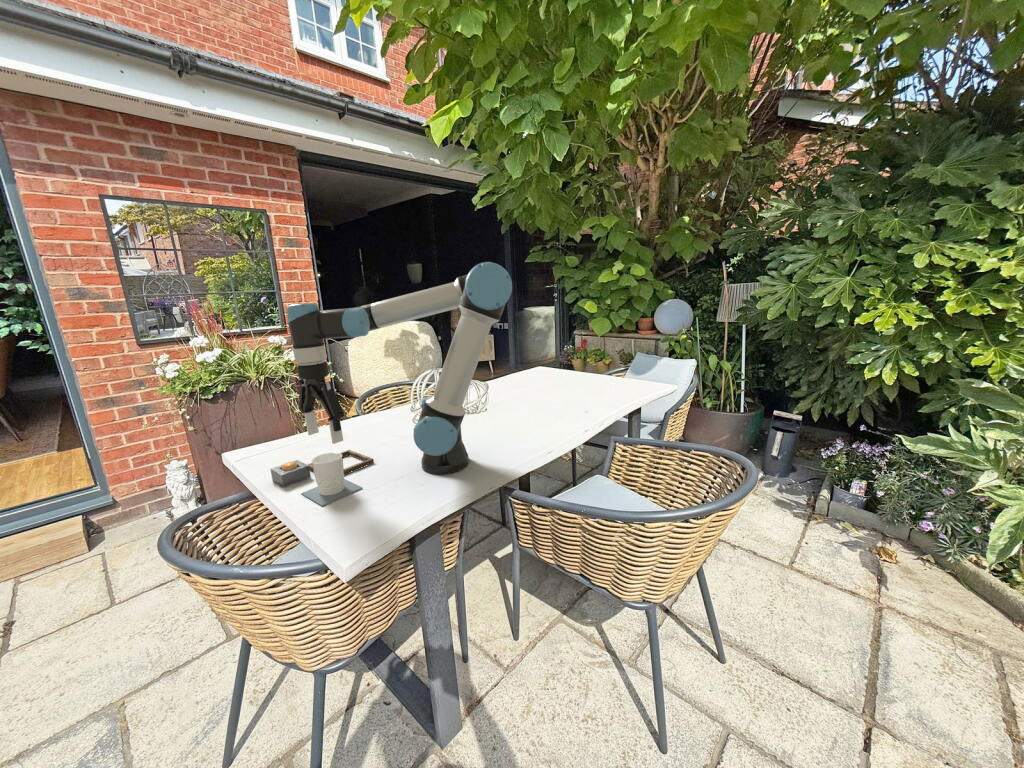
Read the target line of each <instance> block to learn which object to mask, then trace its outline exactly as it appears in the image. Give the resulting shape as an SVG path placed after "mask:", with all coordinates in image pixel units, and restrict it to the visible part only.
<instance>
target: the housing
mask: <svg viewBox="0 0 1024 768" xmlns="http://www.w3.org/2000/svg"><path fill="white" fill-rule="evenodd" d="M293 461H294V462H296V463H297V468H294V469H292V470H289V471H286V472H285V471H283V470H282V465H283V464H280V465H278V466H274V467H272V468H270V473H271V480H272V482H274V483H276V484H277V485H279V486H280V487H282V488H287V487H289V486H292V485H294V484H295V485H296V484H297V483H300V482H303V481H305V480H308V479H311V478H310V477H311V470H310V469H309V465H307V464H306V463H304V462H303V461H301V460H298V459H295V460H293ZM307 478H308V479H307ZM302 480H303V481H302Z"/></svg>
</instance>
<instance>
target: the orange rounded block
mask: <svg viewBox="0 0 1024 768" xmlns="http://www.w3.org/2000/svg"><path fill="white" fill-rule="evenodd" d="M294 461H295V460H293V461H287V462H285V463H284V462H283V464H281V465H282V470H283V471H285V472H286V471H289V470H292V469H294V468H297V463H296V462H294Z"/></svg>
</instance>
